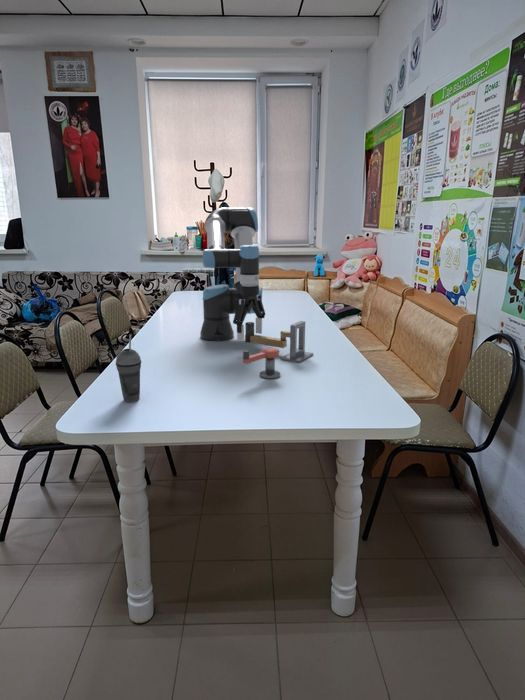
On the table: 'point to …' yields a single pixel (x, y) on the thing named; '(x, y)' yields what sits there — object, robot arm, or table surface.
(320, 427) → the table surface
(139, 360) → the beverage cup
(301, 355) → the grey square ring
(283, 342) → the hook bar
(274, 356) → the red joystick lever
